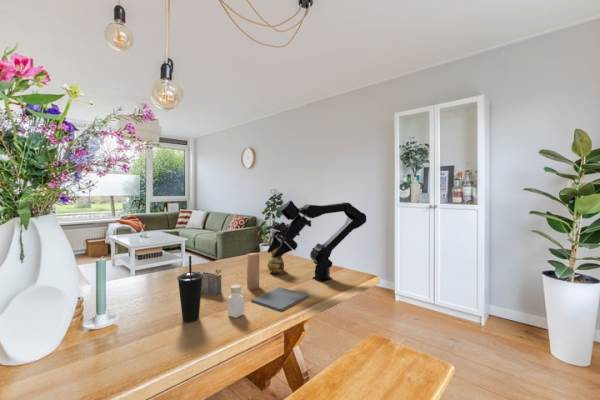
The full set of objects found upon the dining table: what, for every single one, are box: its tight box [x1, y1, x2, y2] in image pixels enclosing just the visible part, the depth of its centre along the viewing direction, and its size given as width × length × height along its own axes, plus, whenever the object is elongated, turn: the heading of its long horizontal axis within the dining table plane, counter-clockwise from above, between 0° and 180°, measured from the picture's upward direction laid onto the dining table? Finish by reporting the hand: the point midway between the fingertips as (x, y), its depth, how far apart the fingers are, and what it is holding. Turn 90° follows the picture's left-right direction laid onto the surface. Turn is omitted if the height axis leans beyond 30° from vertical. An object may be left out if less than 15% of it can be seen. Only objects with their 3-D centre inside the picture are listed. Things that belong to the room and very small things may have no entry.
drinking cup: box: [176, 255, 203, 323], centre depth 89 cm, size 8×8×20 cm
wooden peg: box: [246, 252, 260, 291], centre depth 117 cm, size 5×5×14 cm
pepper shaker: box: [227, 284, 245, 319], centre depth 92 cm, size 4×4×10 cm
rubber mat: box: [251, 286, 309, 312], centre depth 106 cm, size 16×14×1 cm
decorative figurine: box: [267, 247, 285, 275], centre depth 139 cm, size 10×8×15 cm
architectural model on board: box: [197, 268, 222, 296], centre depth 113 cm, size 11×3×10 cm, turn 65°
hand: (270, 254), depth 120 cm, fingers open, 9 cm apart
